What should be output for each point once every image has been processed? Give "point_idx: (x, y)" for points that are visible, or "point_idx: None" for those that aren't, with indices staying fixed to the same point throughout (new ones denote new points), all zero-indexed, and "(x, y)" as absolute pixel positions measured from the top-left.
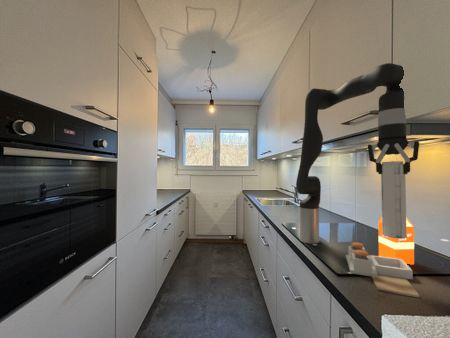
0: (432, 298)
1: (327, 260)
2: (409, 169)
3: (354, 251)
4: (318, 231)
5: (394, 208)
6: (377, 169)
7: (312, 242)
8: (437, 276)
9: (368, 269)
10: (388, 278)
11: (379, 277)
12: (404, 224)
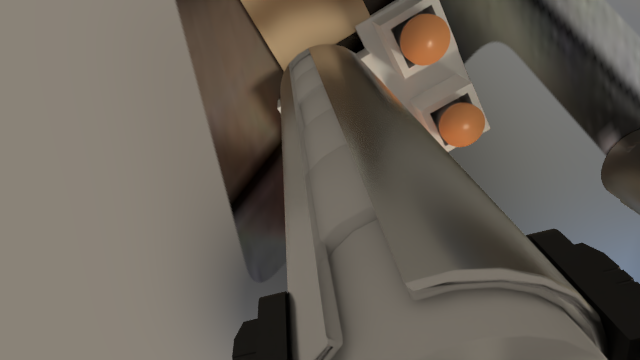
0: (205, 8)
1: (523, 26)
2: (240, 350)
3: (447, 26)
4: (635, 190)
5: (325, 80)
6: (602, 271)
7: (622, 143)
8: (240, 180)
9: (382, 16)
10: (323, 32)
11: (345, 15)
12: (282, 95)
